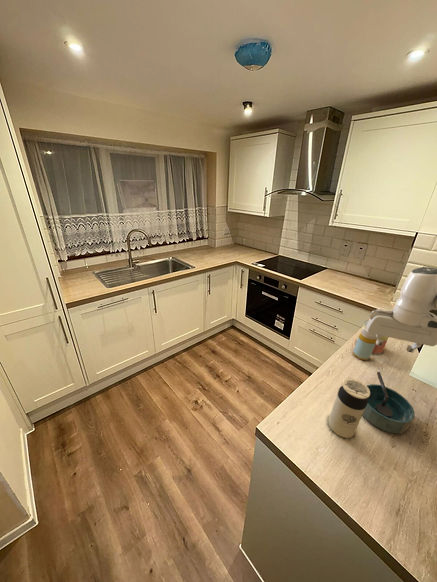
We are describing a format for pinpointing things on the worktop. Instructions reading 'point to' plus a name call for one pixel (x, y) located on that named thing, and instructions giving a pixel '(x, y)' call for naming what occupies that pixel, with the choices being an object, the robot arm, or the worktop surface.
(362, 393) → the travel mug
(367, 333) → the bottle
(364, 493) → the worktop surface
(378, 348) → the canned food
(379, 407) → the ladle
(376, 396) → the bowl
